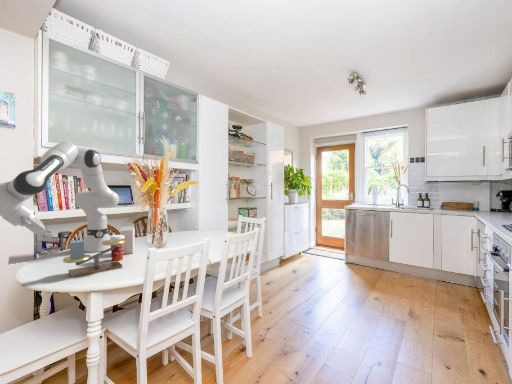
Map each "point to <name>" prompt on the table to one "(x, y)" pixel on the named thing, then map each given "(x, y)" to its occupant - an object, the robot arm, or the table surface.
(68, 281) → the table surface
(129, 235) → the milk carton
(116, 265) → the balance
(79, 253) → the block
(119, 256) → the paper cup
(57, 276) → the table surface
